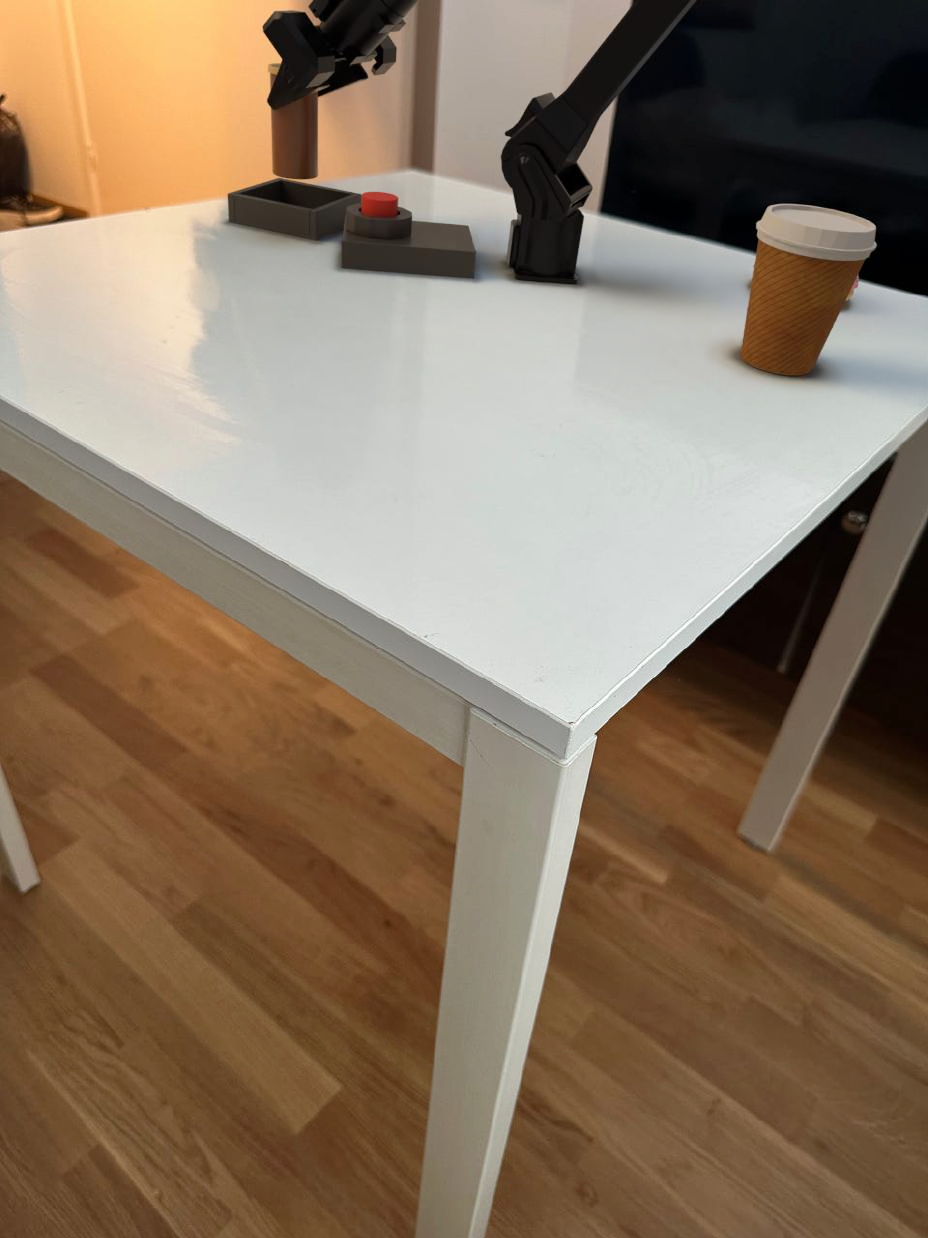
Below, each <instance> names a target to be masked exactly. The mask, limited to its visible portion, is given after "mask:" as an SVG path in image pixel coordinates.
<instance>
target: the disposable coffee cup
mask: <svg viewBox="0 0 928 1238" xmlns="http://www.w3.org/2000/svg"><path fill="white" fill-rule="evenodd" d="M755 224H756V225H755V229H756V230H757V233H756V237H757V238H758V240H757V246H756V247H757V248H756V252H755V253H756V254H755V260H754V264H753V266H754V267H753V270H752V278H751V285H750V290H749V297H748V303H747V309H746V317H745V322H744V329H743V337H742V343H741V349H740V354H739V355H740V358H741V359H742V361H744V362H745V363H747V364H748V365H750V366H752V367H754V368H756V369H759V370H762V371H765V372H768V373H771V374H777V375H783V376H784V375H785V376H803V375H804V376H805V375H807V374H809V373H812V372H813V370H814V368H815V365H816V364H817V361H818V359H819V357H820V354H821V353H822V350H823V349H824V346H825V344H826V343H827V340H828V338H829V336H830V334H831V331H832V330H833V329H834V326H835V323H836V322H837V320H838V317H839V315H840V313H841V312H842V311H841V310H842V309H843V307H844V305H845V302H847V301H846V299H847V297H848V294H849V292H850V290H851V288H852V286H853V284H854V282H855V280H856V278H857V276H859V273H860V271H861V269H862V267H863V265H864V263H865V261H866V259H867V258H868V259H869V258H870V255H871V253H872V252H874V251H875V250H876V249H877V246H878V244H877V242H876V241H875V240H876V239H875V238H876V231H877V226H876V225H875V224H874V223H873V222H872V221H870V220H867V219H866V218H863V217H860V216H858V215H855V214H852V213H849V212H846V211H845V212H844V211H842V210H841V211H840V210H837V209H833V208H827V207H821V206H816V205H808V204H799V203H798V204H797V203H777V204H772V205H769V206H767V208H766V209H765V211H764V213H763V215H762V217H761V219H760V220H757V222H756V223H755Z"/></svg>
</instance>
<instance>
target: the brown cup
mask: <svg viewBox="0 0 928 1238" xmlns="http://www.w3.org/2000/svg"><path fill="white" fill-rule="evenodd" d="M280 65H281V62H278V63H277V62H274V63H268V64H267V72H268V73H269V88H270V91H271V88H272V86H273V83H274V81H275V78H276V76H277V73H278V71H279V68H280ZM270 123H271V126H270V127H271V128H270V129H271V130H270V131H271V163H272V164H271V168H272V169H271V170H272V174H273V175H275V176H277V177H278V178H283V179H288V180H312V179H313V180H314V179H316V178H318V176H319V98H318V91H317V92H315V93H313V94H310V95H308V96H306V97H304V98H301V99H299V100H297V101H295V102H292V103H290V104H288V105H286V106H283V107H281V108H279V109H276V110H272V109H271V108H270Z"/></svg>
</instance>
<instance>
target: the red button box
mask: <svg viewBox="0 0 928 1238" xmlns="http://www.w3.org/2000/svg"><path fill="white" fill-rule="evenodd" d="M361 203H362V202H361ZM361 203H358V204H354V205H351V206H347V210H346V215H345V222H344V229H342V230H343V231H342V237H341V262H340V263H341V264H340V265H341V266H340V267H341V269H342V270H356V271H366V272H367V271H368V272H380V273H394V274H405V275H406V274H408V275H418V276H430V277H431V276H433V277H444V278H456V279H457V278H458V279H470V280H474V278H475V277H474V276H475V265H476V255H477V251H476V248H475V244H474V240H473V236H472V234H471V230H470V226H469V225H468V224H467V225H466V224H455V223H445V222H444V223H443V222H431V221H420V220H413V212H412V211H410V210H408V209H407V208H405V207H402V206H398V214H397V216H395V217H379V216H371V215H367V214H363V213H361Z"/></svg>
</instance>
